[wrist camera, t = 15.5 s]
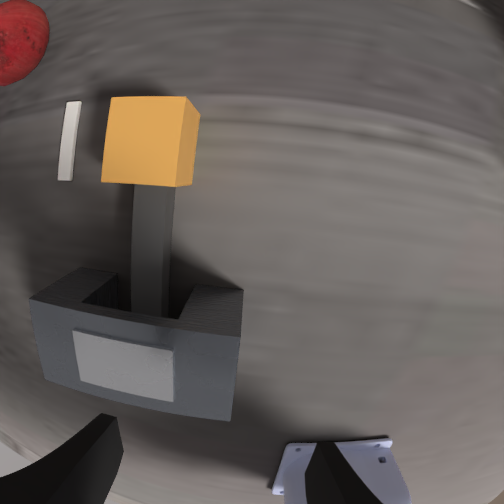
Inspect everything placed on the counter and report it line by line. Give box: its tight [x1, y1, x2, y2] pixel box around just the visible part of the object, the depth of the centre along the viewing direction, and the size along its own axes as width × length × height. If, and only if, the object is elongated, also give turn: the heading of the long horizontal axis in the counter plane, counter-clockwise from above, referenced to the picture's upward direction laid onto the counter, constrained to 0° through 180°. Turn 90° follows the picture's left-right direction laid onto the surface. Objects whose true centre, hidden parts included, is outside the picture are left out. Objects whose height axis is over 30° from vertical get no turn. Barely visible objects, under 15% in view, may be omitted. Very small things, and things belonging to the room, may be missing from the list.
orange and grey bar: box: [101, 96, 200, 318], centre depth 16 cm, size 18×4×4 cm, turn 173°
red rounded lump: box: [0, 0, 49, 86], centre depth 10 cm, size 6×6×8 cm
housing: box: [29, 268, 244, 421], centre depth 16 cm, size 11×5×6 cm, turn 83°
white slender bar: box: [58, 101, 82, 181], centre depth 16 cm, size 1×5×1 cm, turn 173°
